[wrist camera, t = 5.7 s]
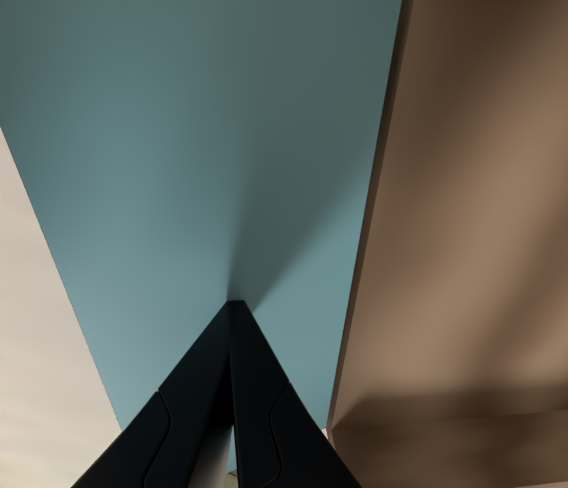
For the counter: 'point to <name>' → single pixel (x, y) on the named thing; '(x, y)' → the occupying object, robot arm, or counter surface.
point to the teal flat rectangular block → (198, 170)
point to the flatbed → (463, 258)
